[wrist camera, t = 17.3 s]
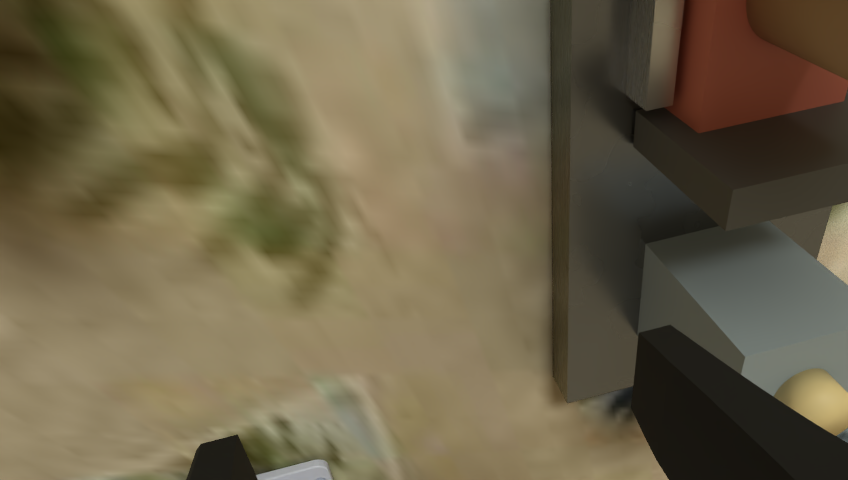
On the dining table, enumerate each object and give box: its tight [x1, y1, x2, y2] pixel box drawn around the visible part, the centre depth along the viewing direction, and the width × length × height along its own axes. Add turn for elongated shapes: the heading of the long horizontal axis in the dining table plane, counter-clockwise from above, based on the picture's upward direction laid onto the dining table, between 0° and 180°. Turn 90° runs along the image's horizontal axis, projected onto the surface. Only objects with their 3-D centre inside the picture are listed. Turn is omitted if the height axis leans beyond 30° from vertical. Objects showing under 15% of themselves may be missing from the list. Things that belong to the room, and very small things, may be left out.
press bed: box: [551, 0, 832, 403], centre depth 21 cm, size 20×10×3 cm, turn 9°
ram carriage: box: [633, 0, 848, 231], centre depth 16 cm, size 7×6×6 cm
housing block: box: [637, 221, 848, 436], centre depth 21 cm, size 4×4×7 cm
